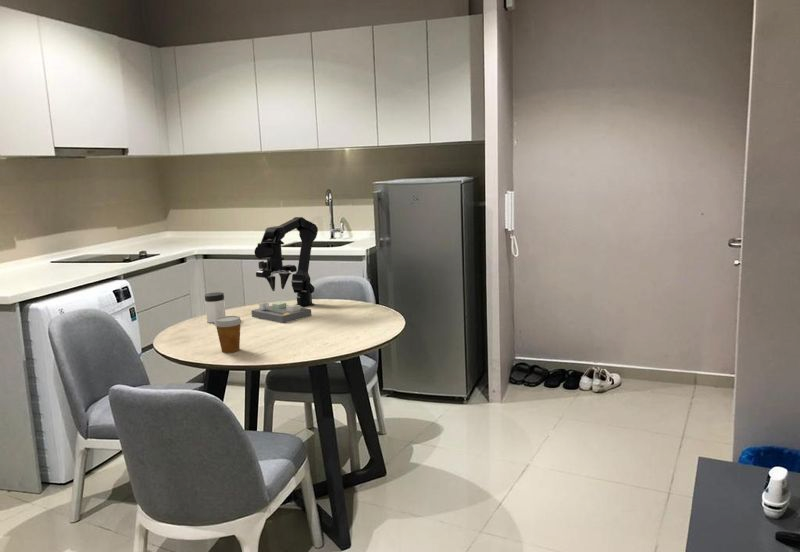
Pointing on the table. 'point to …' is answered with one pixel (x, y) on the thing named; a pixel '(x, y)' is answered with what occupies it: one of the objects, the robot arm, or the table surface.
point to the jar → (214, 306)
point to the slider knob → (264, 305)
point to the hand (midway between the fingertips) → (278, 289)
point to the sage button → (279, 305)
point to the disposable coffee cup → (229, 333)
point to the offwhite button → (293, 308)
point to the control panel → (281, 314)
